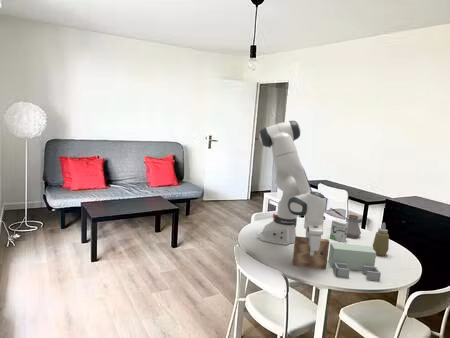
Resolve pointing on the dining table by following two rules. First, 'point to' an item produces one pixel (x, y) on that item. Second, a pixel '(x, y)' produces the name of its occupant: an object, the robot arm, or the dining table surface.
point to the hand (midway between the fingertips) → (310, 252)
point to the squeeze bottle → (381, 241)
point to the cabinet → (353, 260)
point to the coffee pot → (351, 225)
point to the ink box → (339, 230)
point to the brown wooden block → (303, 253)
